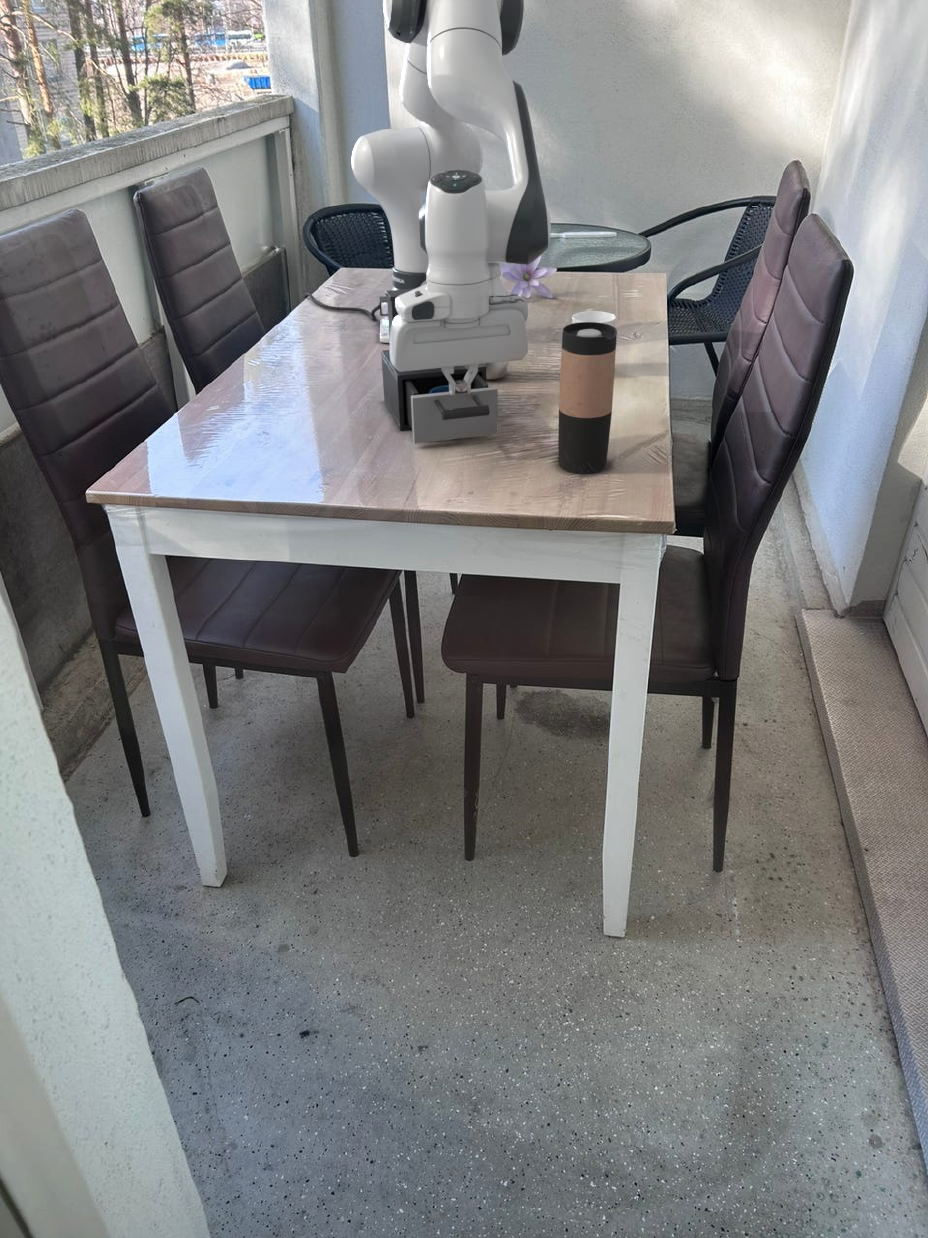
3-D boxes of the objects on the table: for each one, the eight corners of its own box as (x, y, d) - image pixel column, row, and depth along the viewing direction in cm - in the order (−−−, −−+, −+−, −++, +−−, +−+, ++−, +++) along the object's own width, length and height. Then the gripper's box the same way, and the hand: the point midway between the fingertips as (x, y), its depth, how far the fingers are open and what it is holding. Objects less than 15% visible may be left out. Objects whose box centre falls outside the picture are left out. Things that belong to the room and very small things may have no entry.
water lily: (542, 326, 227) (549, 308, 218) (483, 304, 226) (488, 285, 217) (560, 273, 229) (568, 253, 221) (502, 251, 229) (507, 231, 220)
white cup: (610, 378, 174) (614, 323, 168) (567, 376, 175) (570, 321, 170) (613, 365, 180) (617, 311, 175) (572, 363, 182) (574, 309, 176)
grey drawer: (509, 449, 144) (510, 403, 140) (423, 460, 142) (422, 413, 138) (476, 407, 160) (475, 364, 156) (398, 415, 157) (395, 372, 153)
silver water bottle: (512, 373, 177) (513, 261, 166) (501, 384, 172) (502, 269, 161) (479, 370, 179) (478, 259, 168) (467, 381, 174) (466, 267, 163)
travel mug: (552, 455, 145) (557, 322, 134) (602, 452, 145) (611, 320, 134) (561, 476, 138) (567, 338, 127) (612, 473, 139) (623, 336, 128)
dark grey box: (486, 420, 157) (486, 366, 152) (400, 430, 154) (397, 375, 149) (465, 393, 168) (464, 342, 163) (384, 402, 165) (381, 350, 160)
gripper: (521, 287, 139) (519, 380, 147) (384, 299, 135) (389, 393, 142) (535, 298, 134) (532, 393, 141) (392, 310, 130) (398, 407, 137)
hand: (460, 393), depth 142 cm, fingers closed
